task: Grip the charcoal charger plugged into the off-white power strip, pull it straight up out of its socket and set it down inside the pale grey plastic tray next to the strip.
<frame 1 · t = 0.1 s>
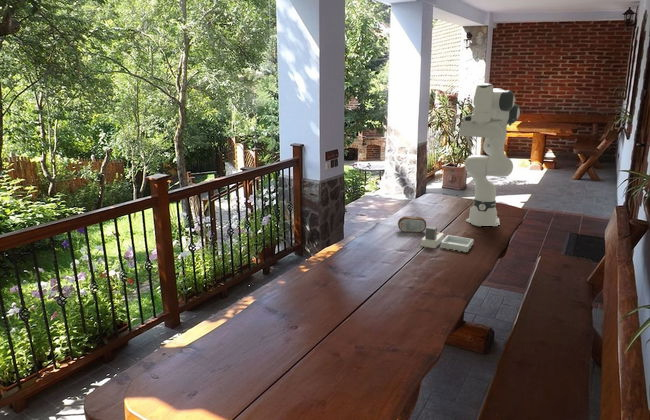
hand: (479, 146, 242), 48 cm above the table, tool pointing down, fingers open, 8 cm apart
tin: (411, 232, 264), on the table
charger: (430, 241, 244), point 2 cm above the table, touching power strip
power strip: (432, 242, 247), on the table
tray: (456, 246, 242), on the table
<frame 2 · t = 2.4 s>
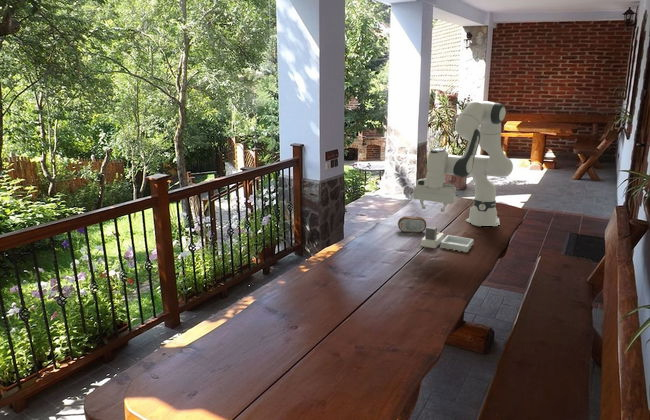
hand: (432, 210, 239), 18 cm above the table, tool pointing down, fingers open, 8 cm apart
nothing on the table moved.
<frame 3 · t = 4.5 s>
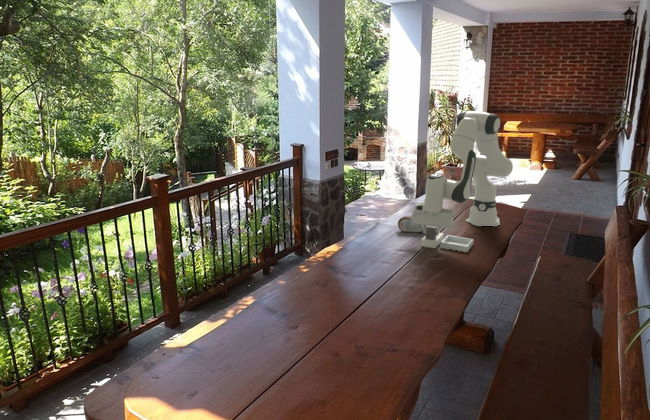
hand: (431, 234, 243), 6 cm above the table, tool pointing down, fingers closed on charger, 4 cm apart
charger: (430, 241, 244), point 2 cm above the table, touching gripper, power strip
everything else where it was.
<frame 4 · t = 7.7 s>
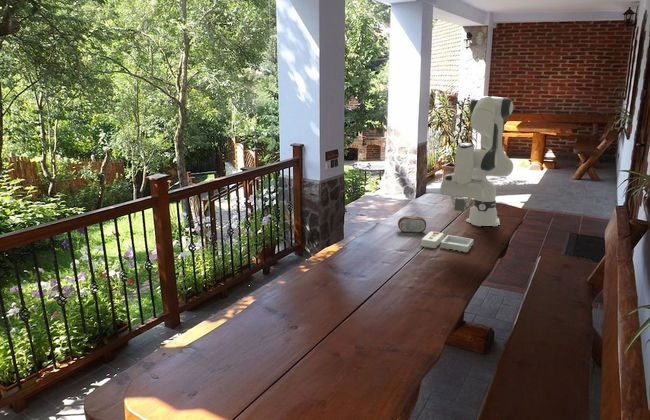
hand: (460, 205, 237), 21 cm above the table, tool pointing down, fingers closed on charger, 4 cm apart
charger: (459, 212, 238), point 17 cm above the table, touching gripper
everything else where it was.
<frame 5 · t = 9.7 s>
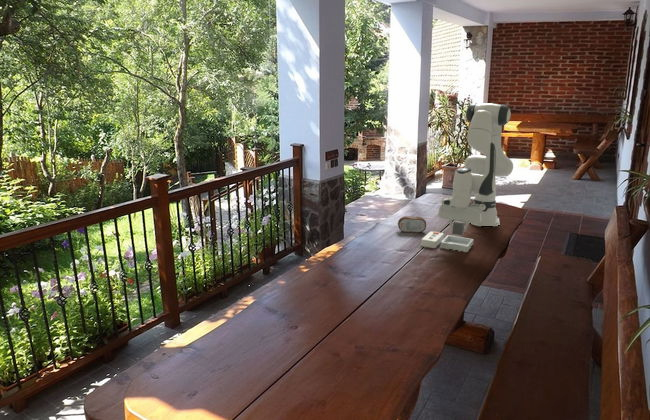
hand: (458, 229, 240), 9 cm above the table, tool pointing down, fingers closed on charger, 4 cm apart
charger: (457, 236, 241), point 5 cm above the table, touching gripper
everything else where it was.
when the fingers open (6 cm above the table, at t = 11.1 s): charger drops 2 cm, resting on tray.
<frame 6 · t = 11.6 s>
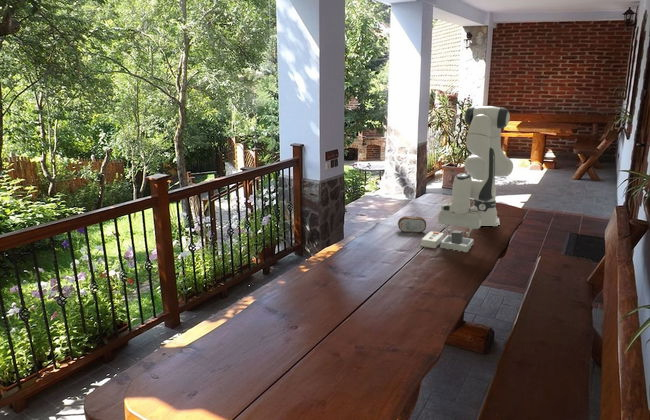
hand: (457, 234, 241), 6 cm above the table, tool pointing down, fingers open, 8 cm apart
charger: (457, 245, 242), point 1 cm above the table, touching tray
everything else where it was.
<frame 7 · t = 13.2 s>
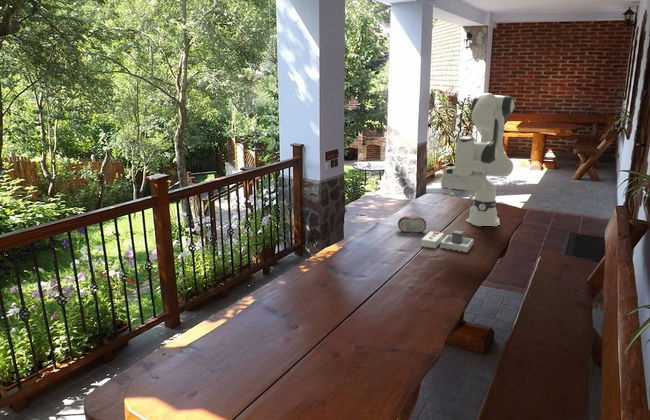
hand: (461, 198, 241), 23 cm above the table, tool pointing down, fingers open, 8 cm apart
nothing on the table moved.
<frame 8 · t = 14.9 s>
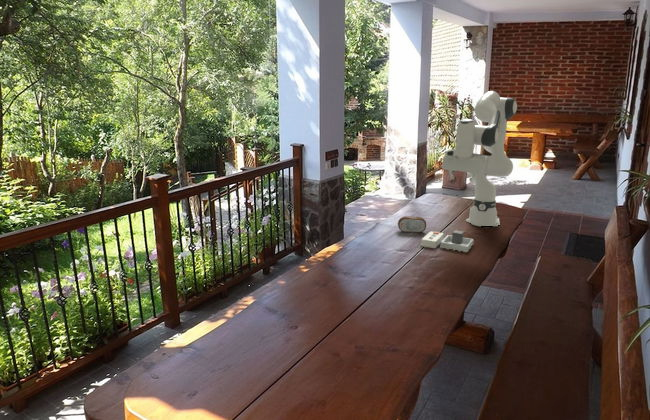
hand: (461, 180, 245), 31 cm above the table, tool pointing down, fingers open, 8 cm apart
nothing on the table moved.
at the end: charger inside the target area on the tray (0.1 cm from its centre), point 0.5 cm above the tray's base; charger touching tray; the gripper is holding nothing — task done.
